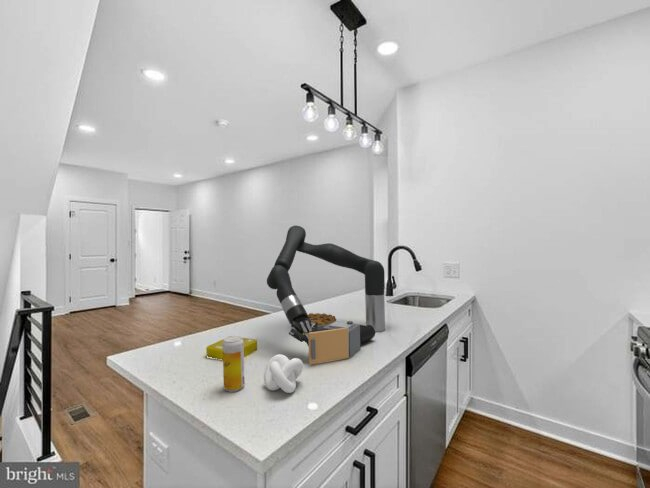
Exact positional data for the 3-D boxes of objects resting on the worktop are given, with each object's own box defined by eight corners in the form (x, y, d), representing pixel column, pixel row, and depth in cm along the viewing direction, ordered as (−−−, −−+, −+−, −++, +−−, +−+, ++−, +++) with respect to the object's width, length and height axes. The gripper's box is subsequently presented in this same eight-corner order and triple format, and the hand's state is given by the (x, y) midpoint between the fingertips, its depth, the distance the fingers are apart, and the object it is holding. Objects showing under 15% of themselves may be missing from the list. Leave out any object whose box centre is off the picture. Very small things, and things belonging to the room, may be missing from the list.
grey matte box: (334, 345, 128) (334, 318, 128) (360, 349, 123) (359, 321, 122) (323, 353, 119) (322, 324, 119) (350, 358, 114) (349, 328, 114)
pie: (311, 318, 172) (311, 309, 172) (344, 324, 159) (344, 314, 159) (284, 328, 155) (284, 318, 154) (319, 335, 142) (319, 324, 142)
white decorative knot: (303, 397, 86) (302, 366, 86) (260, 400, 85) (259, 368, 85) (303, 379, 98) (302, 351, 97) (265, 381, 97) (264, 353, 97)
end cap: (361, 347, 125) (361, 331, 125) (348, 343, 130) (347, 327, 129) (375, 341, 132) (375, 325, 132) (362, 337, 137) (362, 322, 137)
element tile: (204, 358, 118) (203, 346, 118) (230, 345, 132) (230, 334, 132) (235, 363, 112) (234, 351, 112) (259, 349, 126) (259, 338, 126)
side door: (309, 363, 109) (308, 332, 108) (348, 356, 114) (347, 327, 114) (310, 365, 107) (310, 334, 106) (350, 358, 112) (350, 328, 112)
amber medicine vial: (226, 383, 96) (225, 336, 96) (246, 382, 96) (244, 335, 96) (221, 393, 90) (220, 342, 89) (242, 392, 90) (241, 341, 90)
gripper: (303, 312, 125) (323, 349, 116) (275, 318, 117) (295, 359, 108) (311, 301, 121) (332, 339, 112) (283, 306, 112) (304, 348, 104)
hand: (314, 349), depth 110 cm, fingers closed
